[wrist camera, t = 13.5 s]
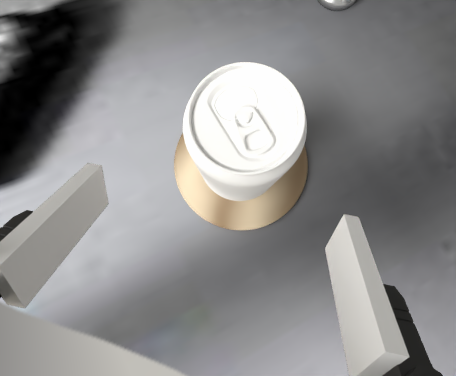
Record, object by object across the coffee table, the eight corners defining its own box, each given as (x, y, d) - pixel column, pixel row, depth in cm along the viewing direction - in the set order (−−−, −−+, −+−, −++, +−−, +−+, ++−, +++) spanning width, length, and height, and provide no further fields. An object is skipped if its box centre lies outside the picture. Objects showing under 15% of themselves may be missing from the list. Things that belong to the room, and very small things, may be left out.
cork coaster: (314, 114, 29) (316, 112, 28) (295, 241, 27) (296, 242, 27) (190, 92, 29) (189, 89, 29) (162, 216, 28) (161, 216, 27)
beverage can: (257, 114, 28) (277, 34, 17) (291, 182, 27) (337, 148, 16) (188, 144, 28) (158, 85, 16) (219, 214, 27) (211, 206, 15)
